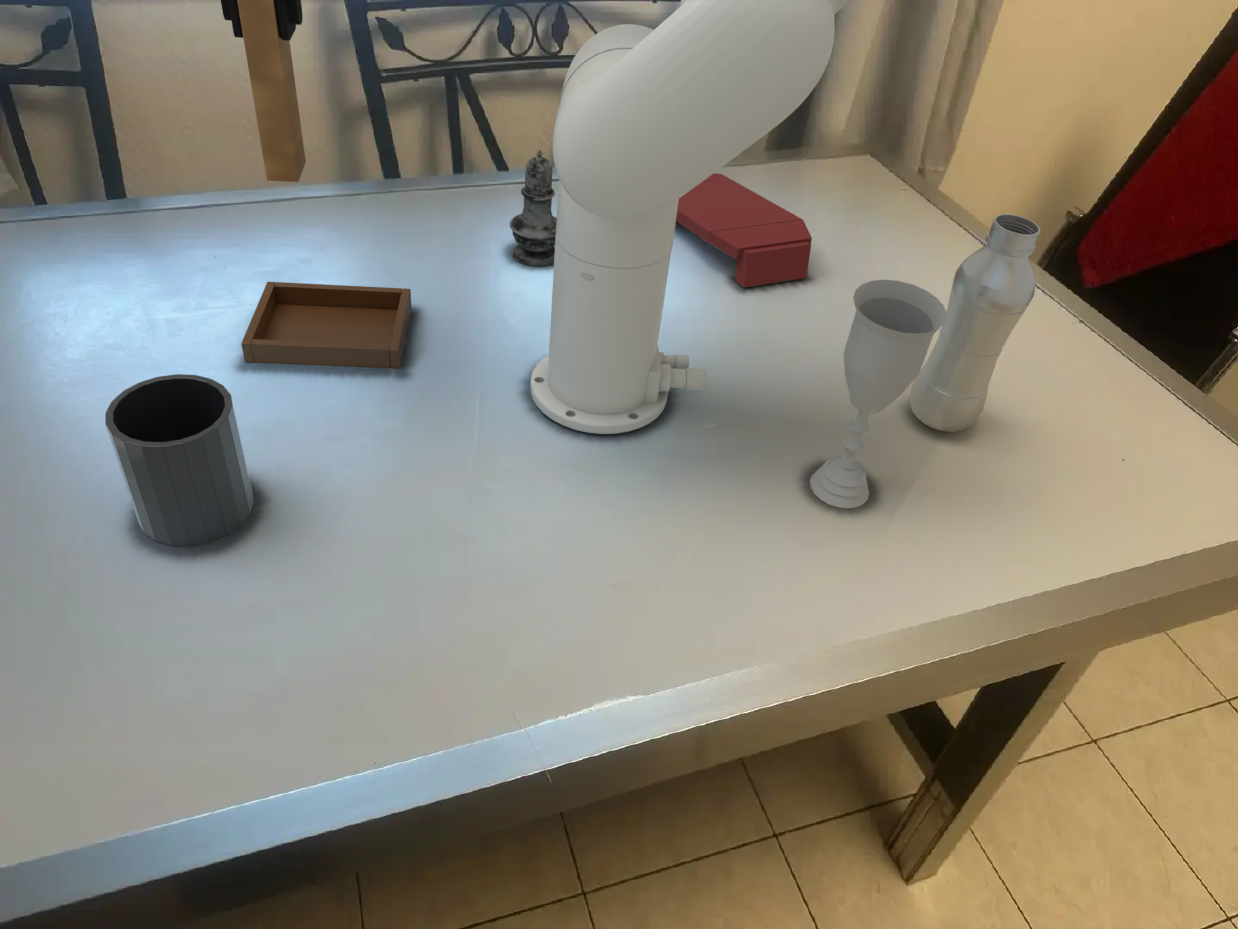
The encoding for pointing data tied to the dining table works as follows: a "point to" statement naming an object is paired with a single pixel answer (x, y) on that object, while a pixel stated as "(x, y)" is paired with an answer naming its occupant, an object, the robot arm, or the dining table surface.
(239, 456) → the cup
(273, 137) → the wooden block
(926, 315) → the chalice
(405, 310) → the tray
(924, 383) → the plastic bottle
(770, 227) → the red chamfered block
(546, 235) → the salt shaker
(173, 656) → the dining table surface
